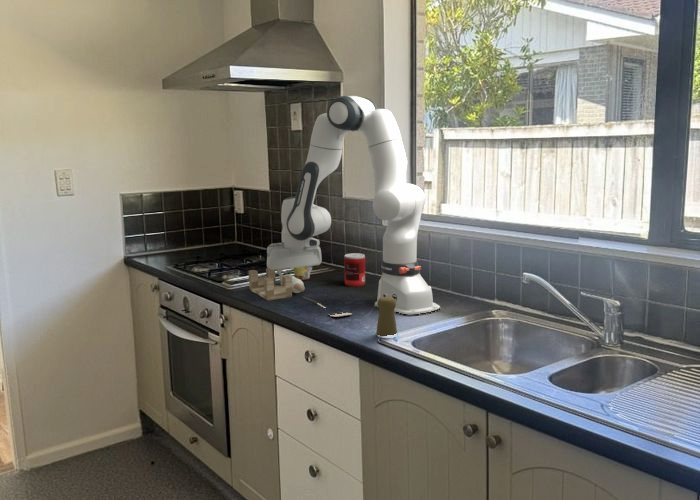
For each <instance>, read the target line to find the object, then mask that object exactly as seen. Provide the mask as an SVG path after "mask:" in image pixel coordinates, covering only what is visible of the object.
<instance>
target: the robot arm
mask: <svg viewBox="0 0 700 500" xmlns="http://www.w3.org/2000/svg"><path fill="white" fill-rule="evenodd" d="M356 131H357V132H359V131H361V132H362V133H363V135H364V137H365V140H366V143H367V149H368V152H369V156H370V159H371V164H372V168H373V173H374V198H373V200H372V209H373V212H374V214H375V216H376V217H377V218H379V219H380V220H382V221H386V222H387V225H386V228H385V232H384V233H383V236H382V260H381V265H380V268H381V272H382V273H381V276H380V279H379V280H378V289H377V298H376V299H377V301H374V307H376V306H377V307H376V308H378V304H377V303H378V300H379V298H381V297H392V298H394V299H395V300H396V307H395V309H394V311H395V312H394V313H396V312H399V313H398V314H400V313H403V314H419V315H421V314H420V313H426V312H431V311H434V310H437V309H439V308H440V309H441V306H440V305H439V304H437V303H435V302H433V301H434V300H433V290H432V286H430V285H428V283H427V282H426V281H425V279H424V278H423V277H422V275H421V267H422V266H421V265H419V260H417V254H418V253H417V250H418V248H417V247H418V233H419V229H420V228H419V227H420V222H421V217H422V213H423V209H424V206H425V204H426V194H425V192H424V191H423V189H422V188H421V187H419V186H418V185H416V184H413V183H410V182H409V183H407V167H408V158H407V155H406V150H405V147H404V143H403V140H402V135H401V131H400V128H399V126H398V123H397V121H396V118H395V117H394V115H393V113H392V112H391V110H389V109H386V108H378V106H377V105H376V104H375V102H374V101H373V100H371V99H370V98H368V97H364V96H363V97H360V96H357V95H340V96H337V97H336V98H334V99H333V100H331V101H330V102H329V104H328V105H327V109H326V112H325V113H321V114H319V115H318V116H317V117H316V120H315V122H314V125H313V129H312V132H311V137H310V140H309V141H310V142H309V147H308V148H309V149H308V153H307V157H306V160H305V164H304V165H303V168H302V171H301V174H300V177H299V181H298V184H297V188H296V193H295V196H290V197H286V198H284V200H283V201H282V203H281V204H282V205H281V215H280V216H281V218H280V219H281V224H282V230H281V242H277V243H273V242H272V243H270V244H269V245H268V246H267V247H266V254H267V257H266V267H267V268H269V269H270V270H275V272H276V273H277V275H278V276H279V282H281V281H282V276H284V275H285V274H284V275H283V270H286V269H294V268H296V267H305V266H306V268H307V271H306V273H304V278H309V273H310V274H311V271H312V270H313V266H319V265H321V264H322V260H323V259H322V250H321V247H320V240H319V239H317V238H315V236H316V237H317V236H319V235H321V234H324V233H325V232H328V231H329V230H330V229H331V226H332V215H331V213H330V211H329V210H328V209H326V207H323V206H318V205H317V204H314V203H315V198H316V195H317V194H316V193H317V189H318V187H319V185H320V183H322V181H323V180H324V179H325V178H326V177H328V176H329V175H330V174H332V173H333V172H335V170H337V169H338V167H339V165H340V162H341V158H342V154H343V148H344V140H345V137H346V135H347V134H348V133H349V132H356ZM309 279H310V278H309ZM431 313H432V312H431ZM403 314H402V315H403ZM426 314H427V313H426Z"/></svg>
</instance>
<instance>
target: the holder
mask: <svg viewBox="0 0 700 500" xmlns="http://www.w3.org/2000/svg"><path fill="white" fill-rule="evenodd" d="M265 274H266V275H265V276H261V277H259V272H258V271H257V270H255V269H252V270H248V284H249V285H248V286H249V288H248V289H249V290H250V291H251V292H253V293H255V294H256V295H257V296H259V297H261V298H263V299H265V300H266V301H273V300H281V299H288V298H293V292H292V277H290V276H282V285H281V284H280V285H279V284H278V285H277V284H276V281H277V280H276V270H270V269H269V268H268V267H267V268H265Z"/></svg>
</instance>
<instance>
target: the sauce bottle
mask: <svg viewBox="0 0 700 500" xmlns="http://www.w3.org/2000/svg"><path fill="white" fill-rule="evenodd" d="M306 271H307V268H306V266H305V267H296V268H293V275H294V276H293V277H295V278H297V279H300V280H301V281H307V280H310V278H311V272H310V273H309V278H304V273H306Z"/></svg>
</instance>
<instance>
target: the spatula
mask: <svg viewBox="0 0 700 500" xmlns="http://www.w3.org/2000/svg"><path fill="white" fill-rule="evenodd" d="M302 299H304V300H305V301H308V302H310V303H312V304H314V305H318V306H319V307H321V308H322V307H323V308H322V309H324V308H327V307H326V306H324V305H323V304H321V303H320V302H319V301H317V300H314V299H311V298H309V297H306V296H302ZM341 313H342V314H337V313H334V314H335V315H330V314H329V315H330V316H329V317H335V318H337V317H338V318H339V317H344V316H351V315H353V313H351V312H346V313H343V312H341Z"/></svg>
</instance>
